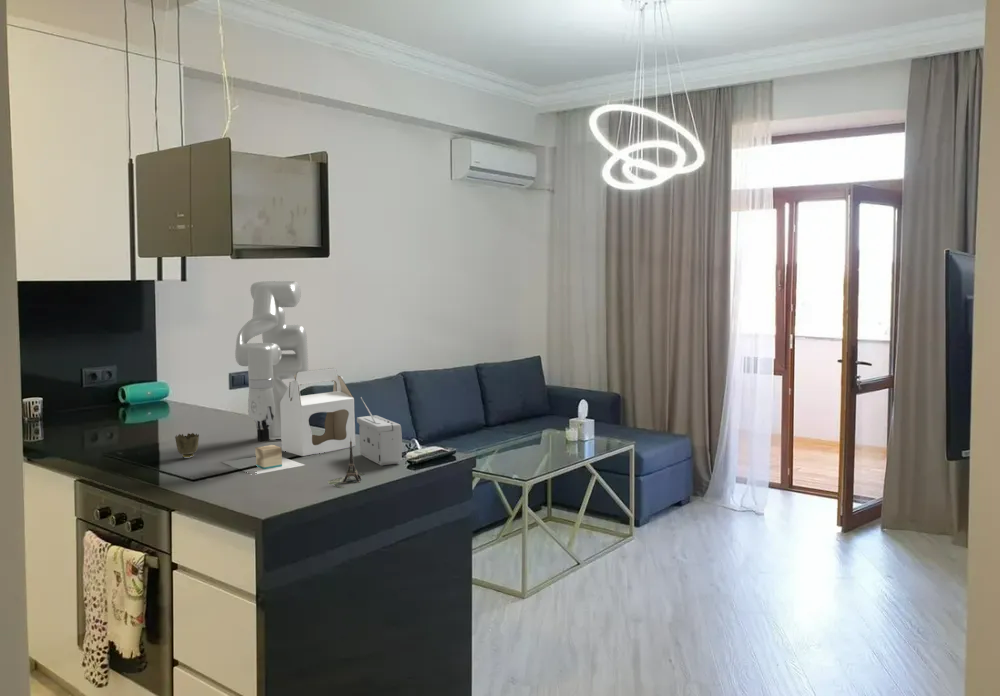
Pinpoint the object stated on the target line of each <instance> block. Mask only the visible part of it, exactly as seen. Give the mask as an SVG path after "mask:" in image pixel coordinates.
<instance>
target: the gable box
mask: <svg viewBox="0 0 1000 696" xmlns="http://www.w3.org/2000/svg"><path fill="white" fill-rule="evenodd" d="M294 378H295V379H293V380H292V381H289V385H288V386H287V387H288V389H287V391H286V393H285V394H284V396H283V398H282V400H281V402H280V413H281V440H280V441H281V451H282V452H285V451H286V452H285V453H288V454H294V455H297V456H301V457H305V456H309V455H315V454H316V455H320V454H324V452H325V453H329V452H334V451H340V450H345V449H350V441H352V448H355V447H356V423H355V422H356V421H355V420H356V419H355V397H354V395H352V392H351V391H350V390H349V388H348V386H347V384H346V383H345V381H344V377H343V375H338V371H337V368H335V367H329V368H320V369H310V370H308V371H301V372H297V373H296V375H294ZM326 382H333V389H332V390H333V391H329V392H319V393H314V394H313V393H312V394H307V395H301V394H300V388H299V386H302V385H303V386H304V385H309V384H319V383H326ZM317 413H326V415H325V417H324V422H323V423H324V433H323V434H322V435H317V434H313V433H312V429H311V426H310V422H309V420H310V417H311V416H312V415H314V414H317ZM319 453H320V454H319Z"/></svg>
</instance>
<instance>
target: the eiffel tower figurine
mask: <svg viewBox="0 0 1000 696" xmlns="http://www.w3.org/2000/svg"><path fill="white" fill-rule="evenodd" d="M354 462H355V461H354V456H353V447H352V441H350V448H349V462H348V468H347V469H346V472H345V473H346V475H345V476H342V477H337V478H334V479H330V480H327V482H328V483H329V485H332V484H334V485H335V486H334V487H337V488H344V486H342V485H341V484H361V483H362V480H363V478H362V477H363V476H364V475H366V474H365V473H362V472H359V473H358V469H357V468H356V466H355V463H354ZM351 468H352V469H351ZM351 477H352V478H351ZM353 477H354V478H353ZM328 483H327V484H328Z"/></svg>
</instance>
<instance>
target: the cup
mask: <svg viewBox="0 0 1000 696" xmlns="http://www.w3.org/2000/svg"><path fill="white" fill-rule="evenodd" d="M199 437H200V434H199V433H198V434H197V433H194V432H192V433H189V432H188V433H187V435H184V434H183V433H182V434H180V433H179V434H178V435H177V434H176V435H175V436H174V439H175V445H176V449H177V452H178V453H179V454H181V457H182V456H183V457H190V456H193V455H194V453H197V451H198V448H199V440H200V438H199ZM194 456H195V455H194Z"/></svg>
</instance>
